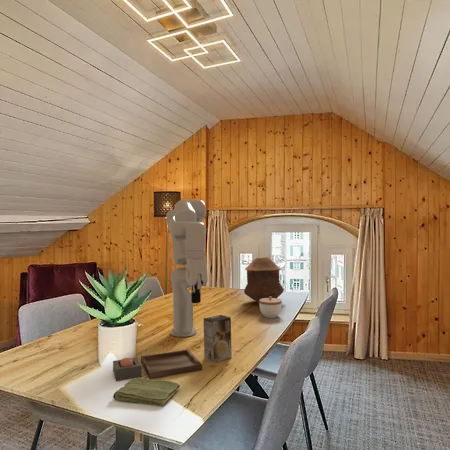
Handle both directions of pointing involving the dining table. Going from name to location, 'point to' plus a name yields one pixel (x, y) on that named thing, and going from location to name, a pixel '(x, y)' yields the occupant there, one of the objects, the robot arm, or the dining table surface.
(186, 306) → the robot arm
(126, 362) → the button cap
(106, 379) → the dining table surface
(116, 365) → the button housing
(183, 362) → the tray
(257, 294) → the pottery vessel
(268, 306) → the lidded bowl
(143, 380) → the washcloth
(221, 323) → the coffee box
